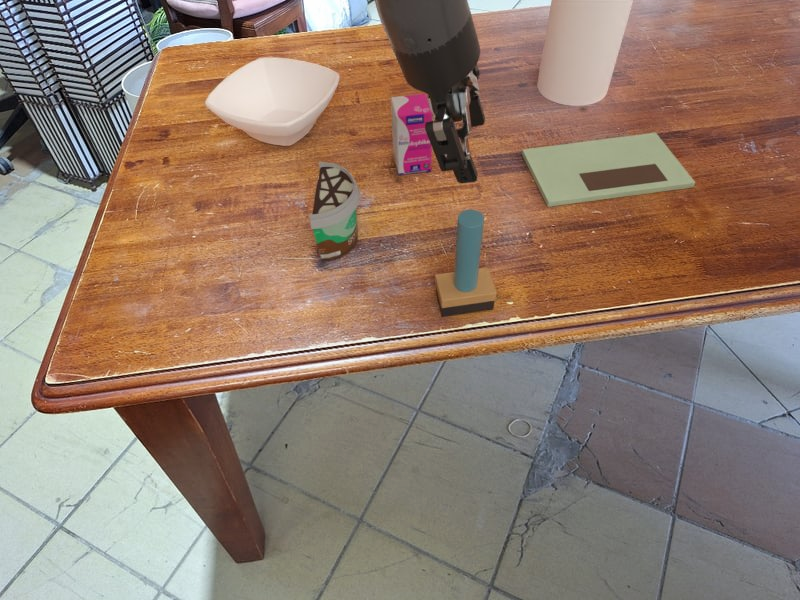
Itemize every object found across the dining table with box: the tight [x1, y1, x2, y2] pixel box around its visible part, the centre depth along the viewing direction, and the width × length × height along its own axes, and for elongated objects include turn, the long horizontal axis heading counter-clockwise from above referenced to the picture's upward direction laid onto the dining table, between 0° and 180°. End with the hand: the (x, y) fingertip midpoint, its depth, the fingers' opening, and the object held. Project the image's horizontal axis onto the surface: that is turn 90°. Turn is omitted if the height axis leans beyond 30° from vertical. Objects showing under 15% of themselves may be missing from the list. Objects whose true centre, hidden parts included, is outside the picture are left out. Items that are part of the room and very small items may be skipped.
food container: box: [308, 161, 361, 263], centre depth 76 cm, size 12×6×10 cm, turn 179°
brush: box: [434, 209, 498, 318], centre depth 66 cm, size 7×5×15 cm, turn 99°
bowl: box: [204, 56, 340, 147], centre depth 95 cm, size 21×21×9 cm
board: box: [521, 132, 696, 208], centre depth 87 cm, size 24×14×1 cm, turn 99°
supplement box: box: [390, 93, 433, 176], centre depth 86 cm, size 6×6×12 cm
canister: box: [536, 0, 634, 107], centre depth 96 cm, size 14×14×20 cm
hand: (472, 151), depth 59 cm, fingers open, 8 cm apart
